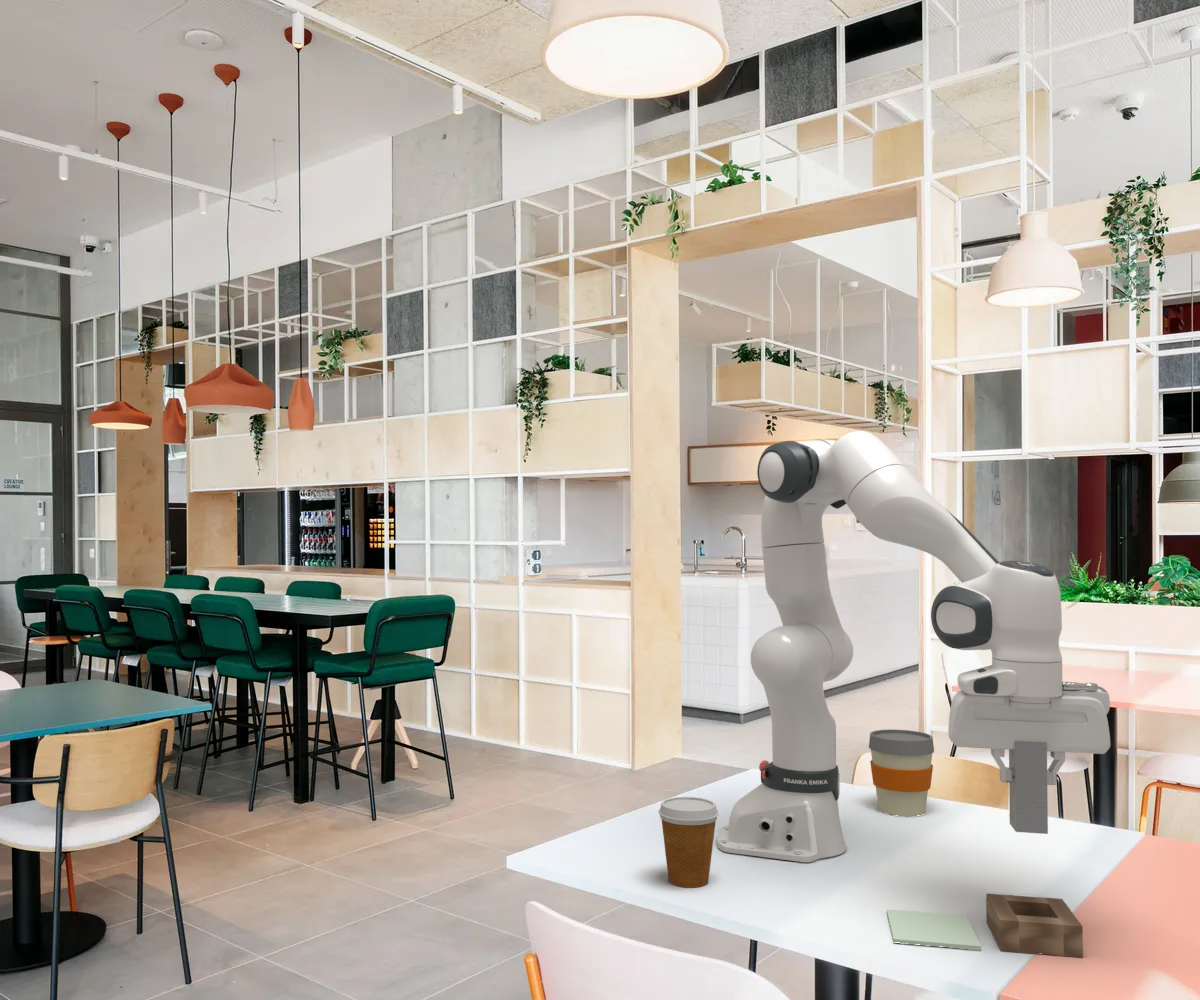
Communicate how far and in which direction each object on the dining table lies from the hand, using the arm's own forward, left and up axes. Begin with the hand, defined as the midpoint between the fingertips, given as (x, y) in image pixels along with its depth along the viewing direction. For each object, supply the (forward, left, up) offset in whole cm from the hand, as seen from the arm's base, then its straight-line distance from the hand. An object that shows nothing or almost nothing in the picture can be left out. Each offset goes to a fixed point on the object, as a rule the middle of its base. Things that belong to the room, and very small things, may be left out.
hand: (1027, 782), depth 133 cm
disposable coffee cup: (-48, +13, -21) cm, 54 cm away
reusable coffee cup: (-10, +63, -21) cm, 67 cm away
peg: (0, 0, -6) cm, 6 cm away
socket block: (0, 0, -21) cm, 21 cm away
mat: (-13, 0, -21) cm, 24 cm away
